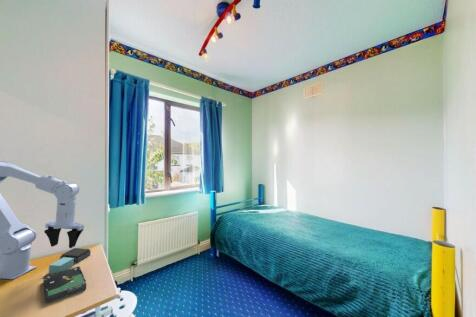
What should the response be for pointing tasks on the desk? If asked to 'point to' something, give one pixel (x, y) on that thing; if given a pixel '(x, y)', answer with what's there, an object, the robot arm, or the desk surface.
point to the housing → (61, 265)
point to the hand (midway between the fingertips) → (63, 246)
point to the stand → (77, 254)
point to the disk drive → (63, 284)
